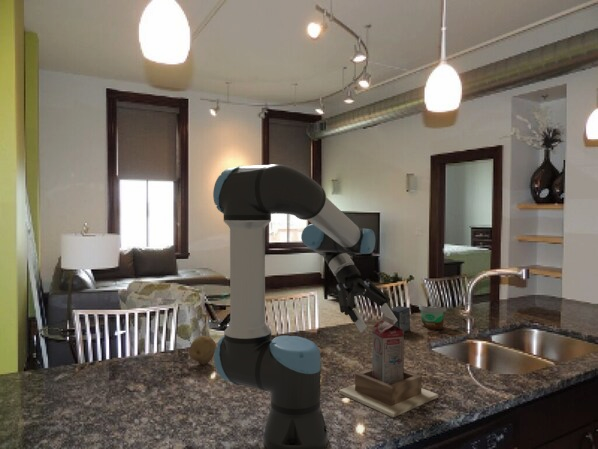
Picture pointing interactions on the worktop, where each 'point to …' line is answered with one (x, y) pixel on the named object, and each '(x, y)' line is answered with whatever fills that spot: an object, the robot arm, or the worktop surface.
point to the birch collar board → (389, 393)
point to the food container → (432, 317)
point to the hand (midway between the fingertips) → (379, 326)
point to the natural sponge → (202, 349)
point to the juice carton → (388, 352)
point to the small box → (402, 317)
